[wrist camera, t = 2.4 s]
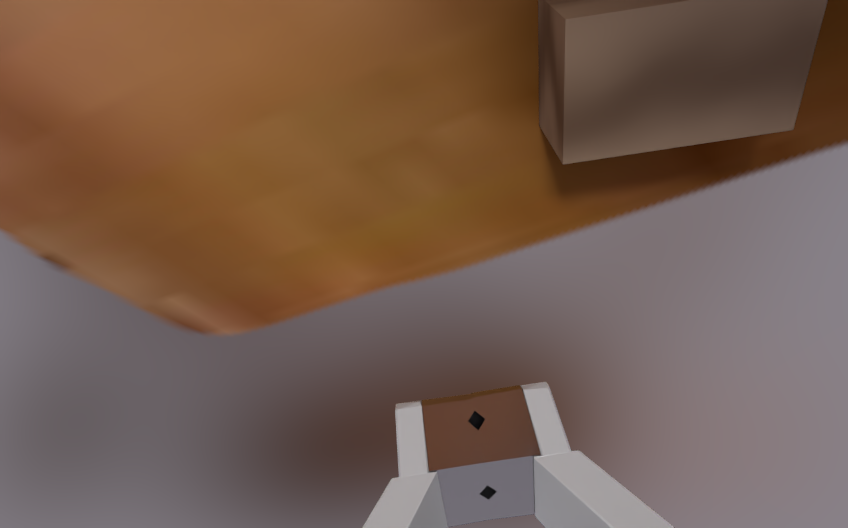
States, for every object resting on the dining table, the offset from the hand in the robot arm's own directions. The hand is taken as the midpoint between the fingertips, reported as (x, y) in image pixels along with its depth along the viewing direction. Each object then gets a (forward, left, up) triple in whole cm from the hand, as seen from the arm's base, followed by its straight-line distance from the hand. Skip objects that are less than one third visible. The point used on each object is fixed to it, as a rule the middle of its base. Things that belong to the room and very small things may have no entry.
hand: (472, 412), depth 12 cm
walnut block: (0, +11, -19) cm, 22 cm away
